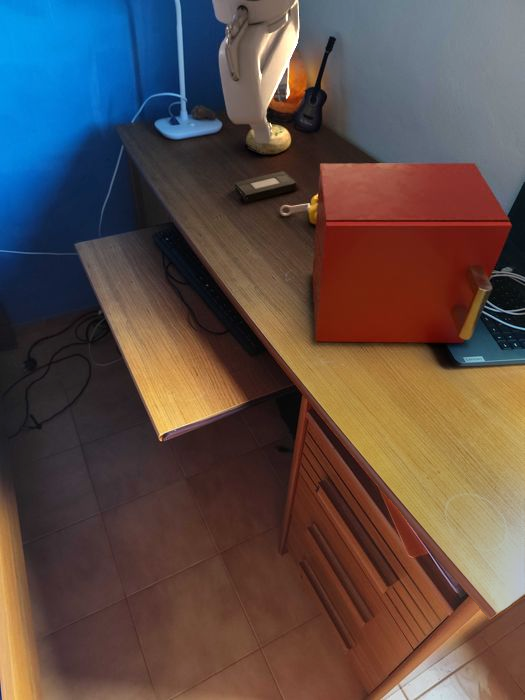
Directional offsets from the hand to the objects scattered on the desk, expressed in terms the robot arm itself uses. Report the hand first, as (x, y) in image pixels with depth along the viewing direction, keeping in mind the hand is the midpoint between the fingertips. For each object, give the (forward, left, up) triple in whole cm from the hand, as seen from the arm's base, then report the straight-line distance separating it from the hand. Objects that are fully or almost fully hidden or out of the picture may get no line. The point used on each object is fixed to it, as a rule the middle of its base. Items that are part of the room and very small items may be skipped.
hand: (273, 118), depth 59 cm
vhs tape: (+3, -53, -38) cm, 65 cm away
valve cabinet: (-21, -7, -37) cm, 43 cm away
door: (-21, +6, -37) cm, 43 cm away
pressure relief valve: (-7, -38, -38) cm, 54 cm away
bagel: (+3, -80, -38) cm, 89 cm away
